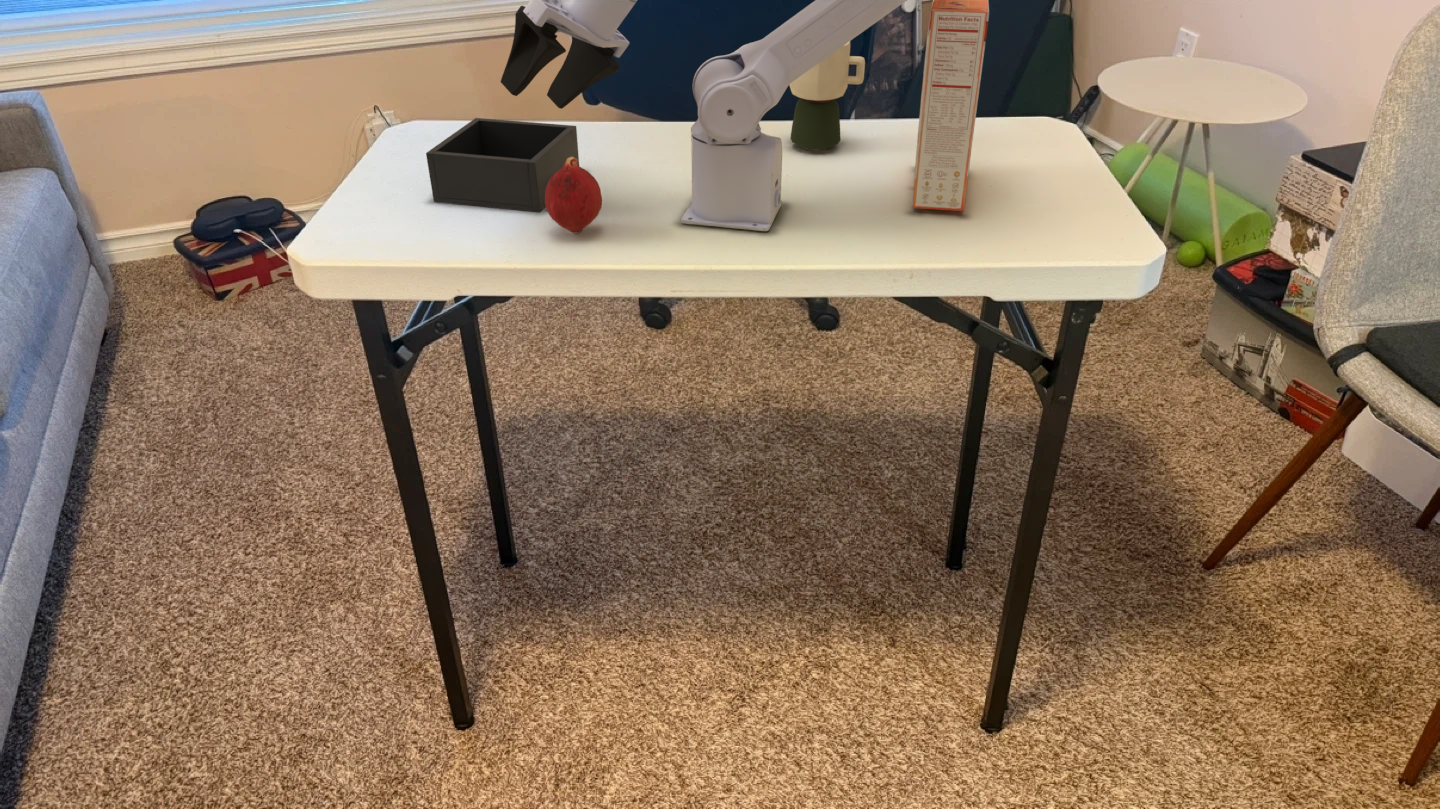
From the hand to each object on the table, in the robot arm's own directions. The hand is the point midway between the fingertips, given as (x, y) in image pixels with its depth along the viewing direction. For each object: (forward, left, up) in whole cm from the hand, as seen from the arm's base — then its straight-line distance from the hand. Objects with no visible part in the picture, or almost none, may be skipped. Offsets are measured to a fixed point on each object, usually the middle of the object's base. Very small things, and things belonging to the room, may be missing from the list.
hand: (532, 95), depth 101 cm
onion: (-4, +2, -13) cm, 14 cm away
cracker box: (-40, -18, -13) cm, 46 cm away
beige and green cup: (-24, -30, -13) cm, 41 cm away
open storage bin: (+8, -8, -13) cm, 17 cm away
